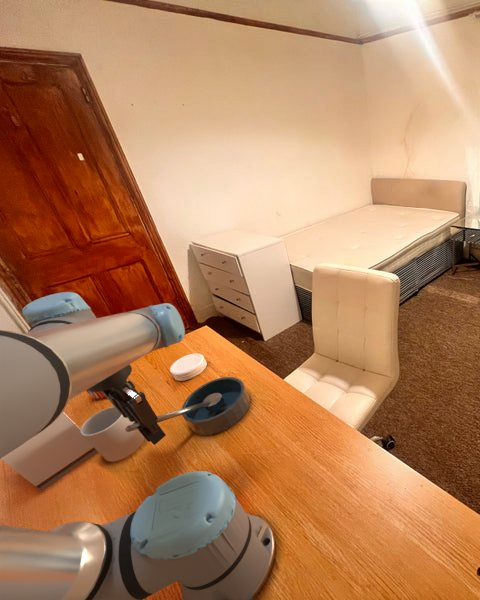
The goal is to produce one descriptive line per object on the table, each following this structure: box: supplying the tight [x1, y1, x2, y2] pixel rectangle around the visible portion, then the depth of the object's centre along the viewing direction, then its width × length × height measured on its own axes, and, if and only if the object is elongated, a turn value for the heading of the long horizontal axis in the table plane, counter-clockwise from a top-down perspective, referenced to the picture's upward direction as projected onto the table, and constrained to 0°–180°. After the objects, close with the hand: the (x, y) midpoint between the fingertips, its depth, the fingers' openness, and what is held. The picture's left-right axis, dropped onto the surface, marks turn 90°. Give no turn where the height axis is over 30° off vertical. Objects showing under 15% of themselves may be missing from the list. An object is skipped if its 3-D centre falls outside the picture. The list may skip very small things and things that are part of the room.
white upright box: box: [0, 411, 99, 492], centre depth 69 cm, size 11×11×35 cm
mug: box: [80, 406, 145, 463], centre depth 78 cm, size 12×8×11 cm
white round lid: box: [169, 353, 208, 382], centre depth 103 cm, size 10×10×4 cm
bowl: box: [181, 376, 251, 436], centre depth 87 cm, size 16×16×6 cm
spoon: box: [125, 393, 224, 432], centre depth 78 cm, size 20×5×12 cm, turn 157°
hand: (156, 437), depth 74 cm, fingers closed on spoon
